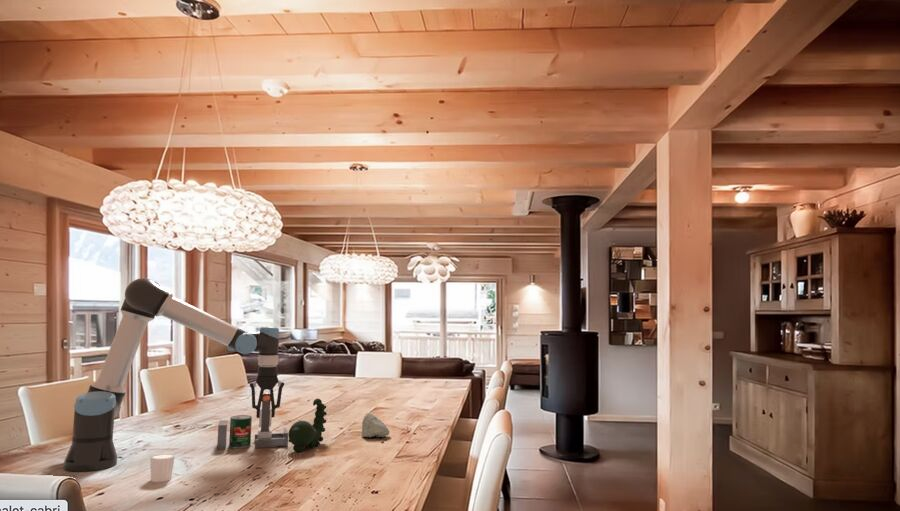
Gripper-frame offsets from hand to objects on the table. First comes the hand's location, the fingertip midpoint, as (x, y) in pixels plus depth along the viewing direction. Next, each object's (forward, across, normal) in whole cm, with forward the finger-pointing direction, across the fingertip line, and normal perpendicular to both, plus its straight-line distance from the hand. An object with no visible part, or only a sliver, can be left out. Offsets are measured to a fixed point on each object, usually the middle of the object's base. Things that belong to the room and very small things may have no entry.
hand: (265, 426), depth 229 cm
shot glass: (+7, +32, +41) cm, 52 cm away
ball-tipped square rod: (+7, 0, 0) cm, 7 cm away
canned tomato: (+7, +9, 0) cm, 12 cm away
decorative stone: (+7, -44, -3) cm, 45 cm away
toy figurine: (+7, -16, +10) cm, 20 cm away
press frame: (+7, +4, 0) cm, 8 cm away
